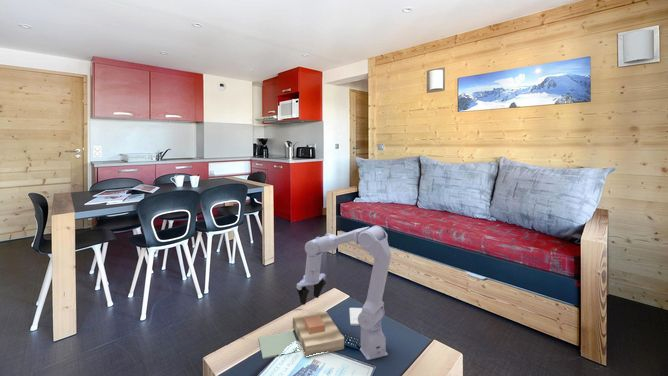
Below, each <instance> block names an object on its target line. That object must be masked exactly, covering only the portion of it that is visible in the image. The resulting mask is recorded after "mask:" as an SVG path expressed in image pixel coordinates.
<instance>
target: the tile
mask: <svg viewBox="0 0 668 376" xmlns="http://www.w3.org/2000/svg"><path fill="white" fill-rule="evenodd" d="M304 324H305V326H306V329H307V331H308V333H309V334H313V333H318V332H323V331H325V324H324V322H323V321H322V319H321V317H320V316H319V315H318V316H312V317H307V318H304Z"/></svg>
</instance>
